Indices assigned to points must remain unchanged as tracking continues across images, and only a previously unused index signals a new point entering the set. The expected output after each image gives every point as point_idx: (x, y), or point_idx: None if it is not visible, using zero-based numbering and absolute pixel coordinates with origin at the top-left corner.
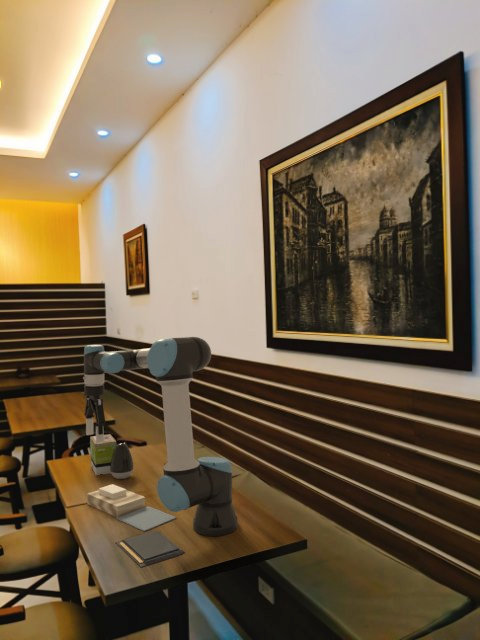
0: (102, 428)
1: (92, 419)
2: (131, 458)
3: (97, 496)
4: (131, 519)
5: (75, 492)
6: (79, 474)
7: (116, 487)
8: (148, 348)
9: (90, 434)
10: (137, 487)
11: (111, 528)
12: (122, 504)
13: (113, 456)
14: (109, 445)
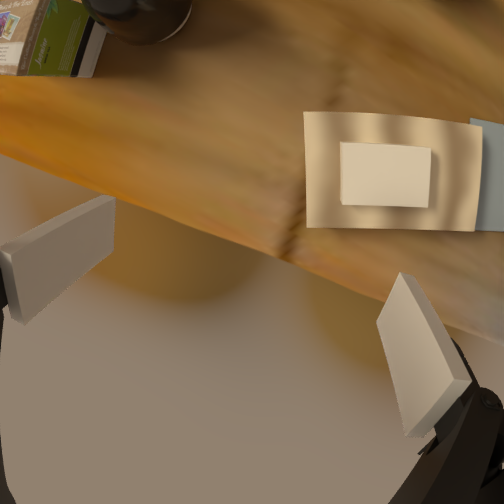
0: (474, 383)
1: (21, 260)
2: None
3: (359, 220)
4: (497, 211)
5: (182, 189)
6: (58, 115)
7: (386, 156)
8: None
9: (113, 222)
10: (296, 20)
11: (485, 267)
12: (474, 212)
13: (117, 24)
14: (42, 20)
